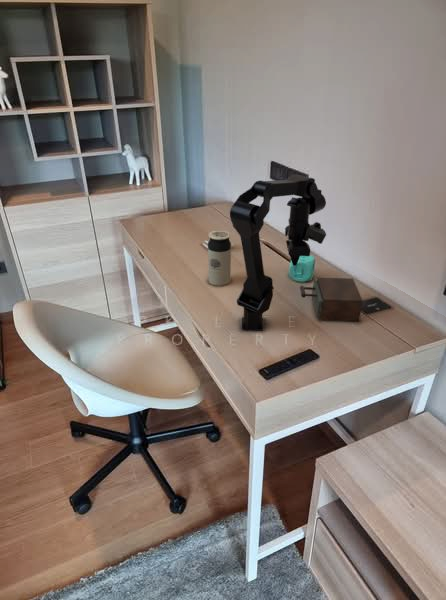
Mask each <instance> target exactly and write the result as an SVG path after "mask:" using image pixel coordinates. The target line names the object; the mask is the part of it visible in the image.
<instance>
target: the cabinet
mask: <svg viewBox="0 0 446 600" xmlns="http://www.w3.org/2000/svg"><path fill="white" fill-rule="evenodd" d="M316 281H318V285H319V288H320V291H321V295H322V298H323V305H322V312H321V317H319V318H320V321H321V322H323V321H325V322H351V323H352V322H355V323H359V321H360V317H361V312H362V310H361V307H362V302H363V301H364V300H363V298H362V295H361V294H360V291H359V289H358V287H357V285H356V282H355V280H354V278H349V277H347V278H346V277H317V278H316Z"/></svg>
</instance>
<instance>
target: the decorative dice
mask: <svg viewBox="0 0 446 600" xmlns="http://www.w3.org/2000/svg"><path fill="white" fill-rule="evenodd" d="M315 266H316V258H315V257H314V256H313V255H311V254H310V256H300V257H299V260H298V262H297V265H293V264H292V261H291V260H290V263H289V269H288V276H289V277H290V278H291V280H293V281H295V282H298V283H307V282H310V281H311V280H312V279H313V277H314V273H315V268H316V267H315Z"/></svg>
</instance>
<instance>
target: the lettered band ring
mask: <svg viewBox="0 0 446 600" xmlns="http://www.w3.org/2000/svg"><path fill="white" fill-rule="evenodd" d="M208 242H209V241H207V240H204V242H202V245H203V246H204V247H205V248H206V249H208ZM234 245H235V244H234V243H233V242H231V247H234Z"/></svg>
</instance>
